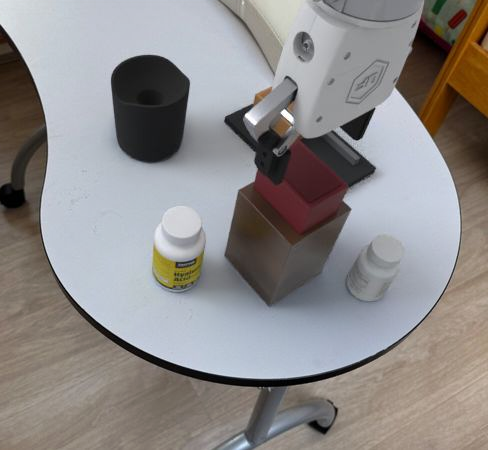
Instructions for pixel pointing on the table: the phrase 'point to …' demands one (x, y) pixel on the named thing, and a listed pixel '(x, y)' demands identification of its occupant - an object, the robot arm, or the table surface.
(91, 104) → the table surface
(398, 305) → the table surface
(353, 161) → the base mat
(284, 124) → the small orange-brown block
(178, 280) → the supplement bottle
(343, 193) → the red lidded box
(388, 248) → the pill bottle
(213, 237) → the table surface
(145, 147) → the pen holder
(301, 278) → the tall brown block
